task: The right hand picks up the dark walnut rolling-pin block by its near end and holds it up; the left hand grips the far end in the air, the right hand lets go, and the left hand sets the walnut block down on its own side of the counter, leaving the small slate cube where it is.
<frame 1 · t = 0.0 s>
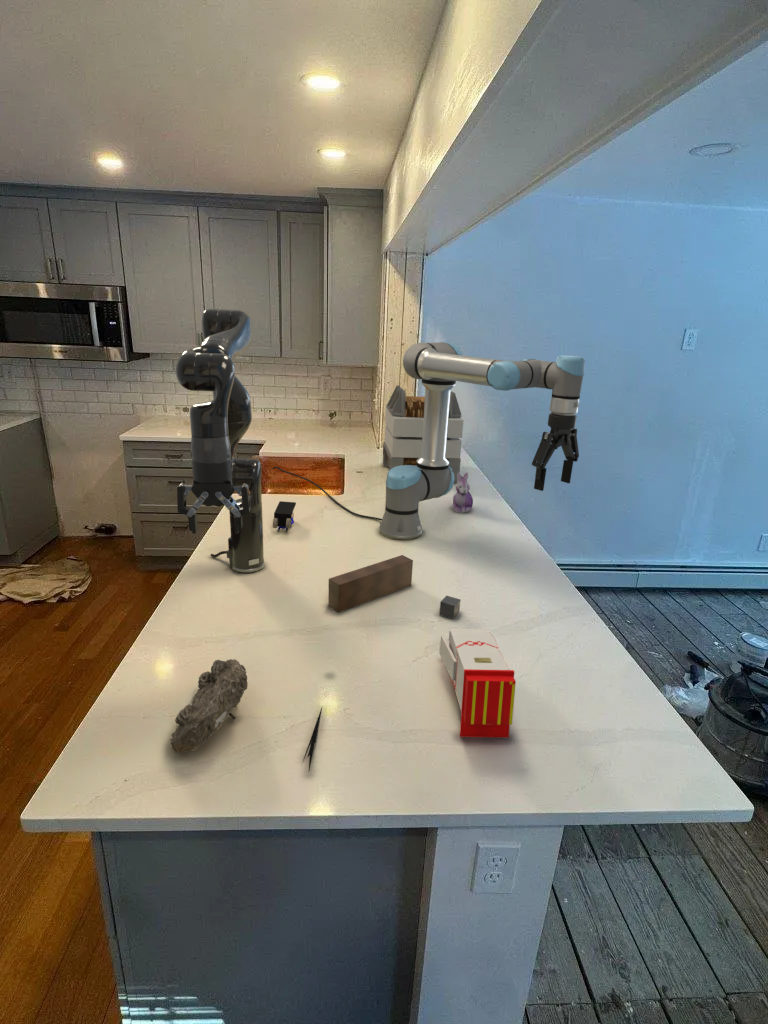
left hand: (216, 532, 118), 29 cm above the counter, fingers open, 8 cm apart
right hand: (552, 485, 166), 28 cm above the counter, fingers open, 13 cm apart
fossil: (215, 716, 108), on the counter
figurine character: (284, 527, 201), on the counter
feather: (319, 719, 109), on the counter
walnut bar: (371, 595, 157), on the counter
toy: (471, 691, 119), on the counter
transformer: (418, 473, 275), on the counter
slate cube: (449, 613, 149), on the counter
figurine: (462, 509, 227), on the counter
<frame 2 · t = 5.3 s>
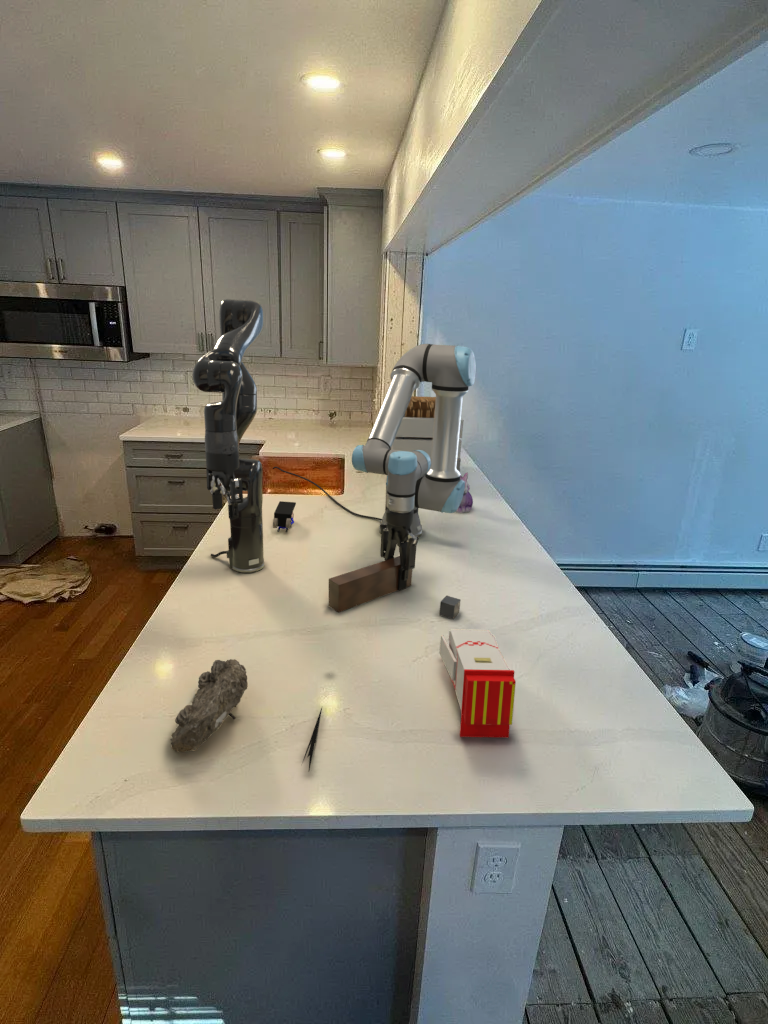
left hand: (225, 513, 138), 26 cm above the counter, fingers open, 8 cm apart
right hand: (395, 585, 162), 0 cm above the counter, fingers closed on walnut bar, 4 cm apart
walnut bar: (371, 595, 157), on the counter, touching right hand
everything else where it was.
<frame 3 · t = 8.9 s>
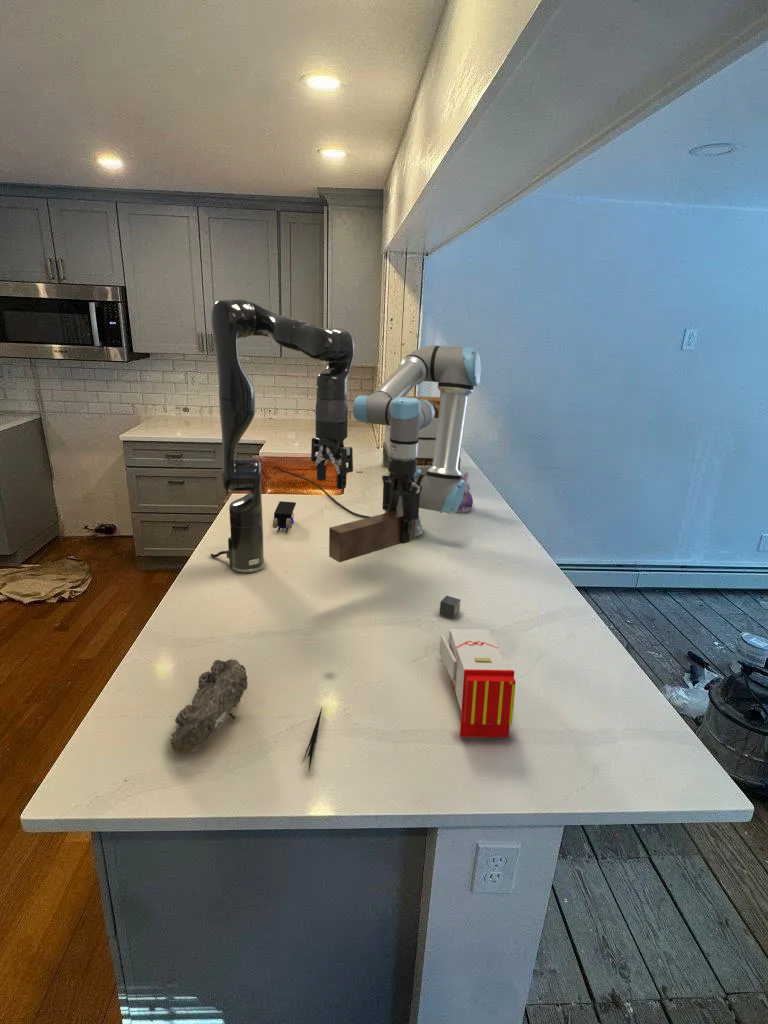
left hand: (331, 484, 138), 34 cm above the counter, fingers open, 8 cm apart
right hand: (398, 539, 157), 15 cm above the counter, fingers closed on walnut bar, 4 cm apart
walnut bar: (373, 547, 152), point 14 cm above the counter, touching right hand
everything else where it was.
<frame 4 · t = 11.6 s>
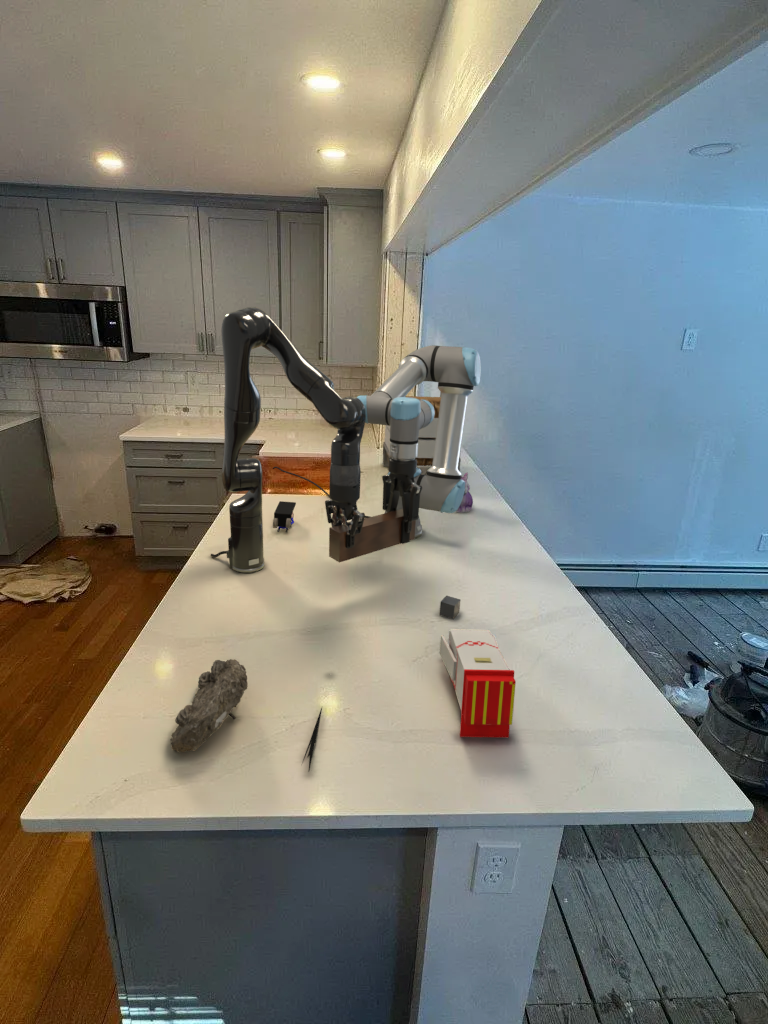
left hand: (343, 544, 144), 18 cm above the counter, fingers closed on walnut bar, 4 cm apart
right hand: (398, 539, 157), 15 cm above the counter, fingers closed on walnut bar, 4 cm apart
walnut bar: (373, 547, 152), point 14 cm above the counter, touching right hand, left hand
everything else where it was.
when the right hand's fingers open (15 cm above the counter, at t = 12.5 s): walnut bar stays where it is, held by the left hand.
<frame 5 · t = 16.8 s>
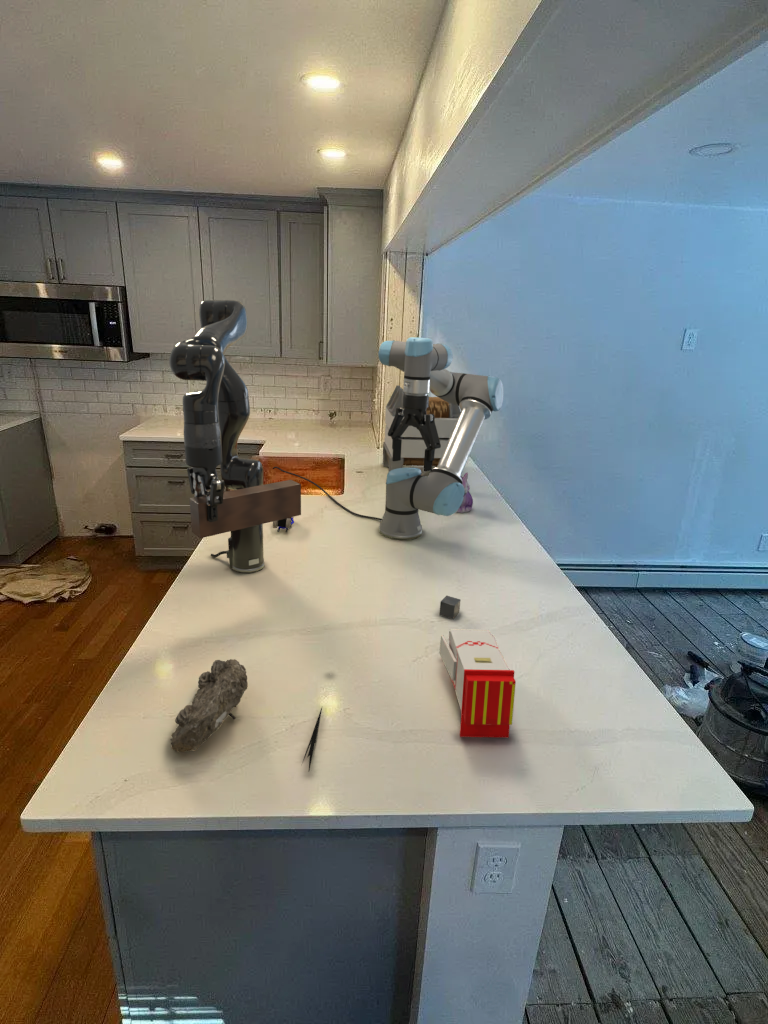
left hand: (207, 517, 126), 29 cm above the counter, fingers closed on walnut bar, 4 cm apart
right hand: (411, 465, 170), 31 cm above the counter, fingers open, 13 cm apart
walnut bar: (249, 523, 134), point 26 cm above the counter, touching left hand
everything else where it was.
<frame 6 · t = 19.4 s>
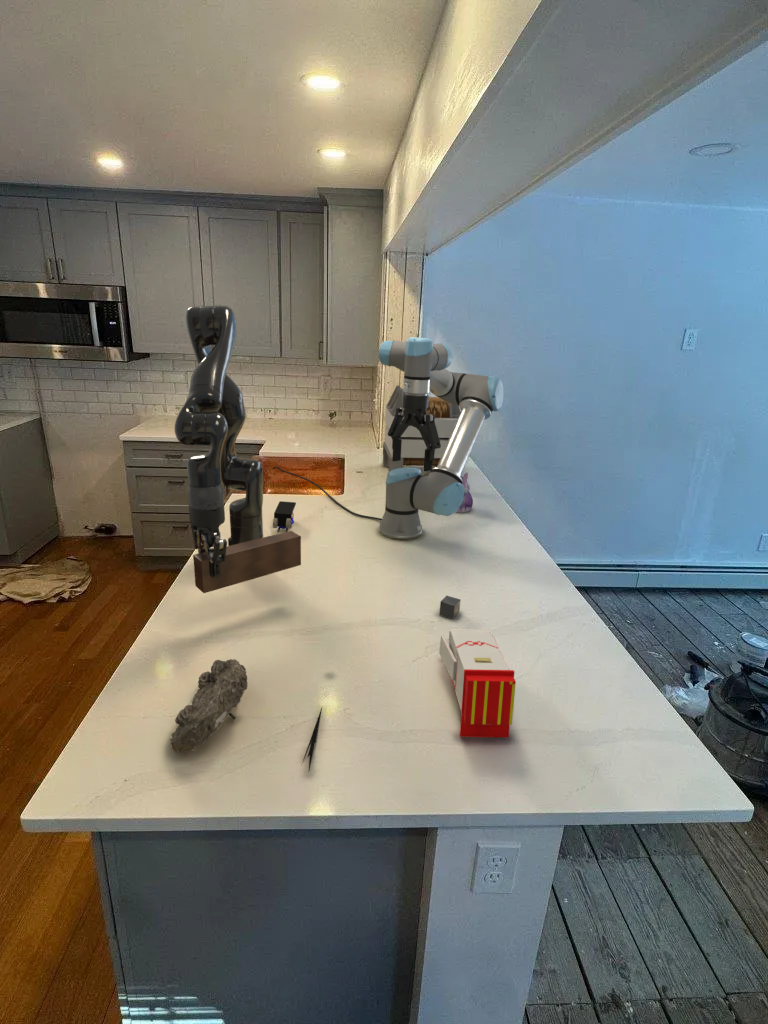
left hand: (210, 572, 131), 16 cm above the counter, fingers closed on walnut bar, 4 cm apart
right hand: (411, 465, 170), 31 cm above the counter, fingers open, 13 cm apart
walnut bar: (250, 575, 138), point 12 cm above the counter, touching left hand
everything else where it was.
when the left hand's fingers open (5 cm above the counter, at t = 21.9 s): walnut bar drops 1 cm, on the counter.
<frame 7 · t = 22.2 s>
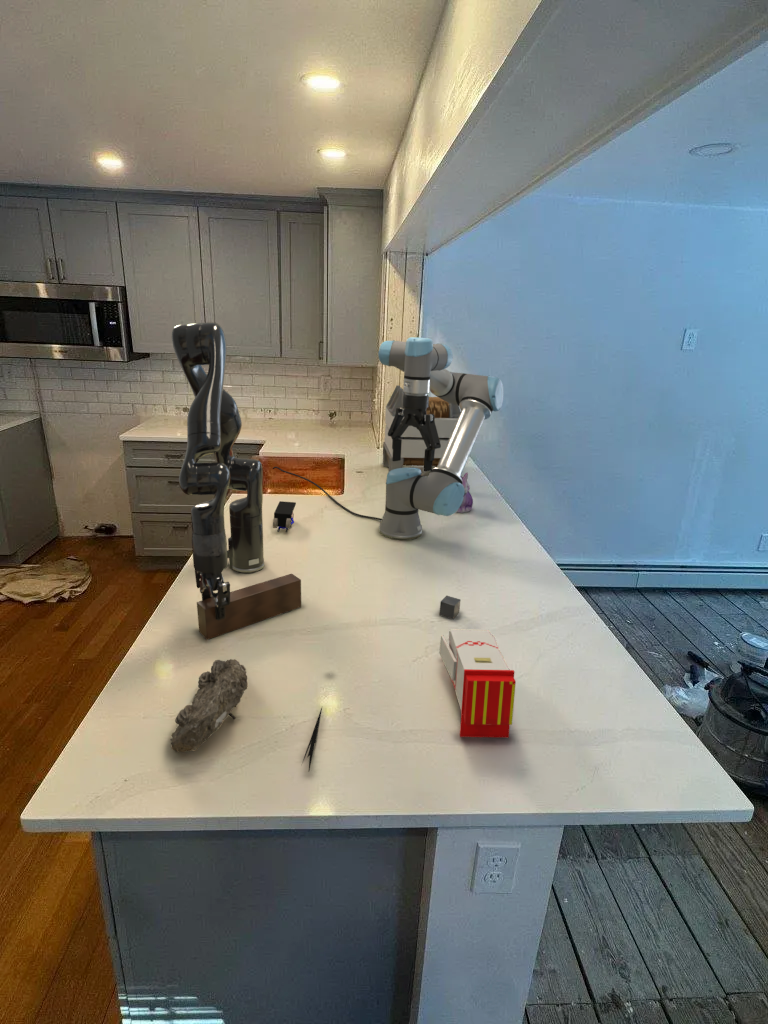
left hand: (214, 612, 134), 5 cm above the counter, fingers open, 6 cm apart
right hand: (411, 465, 170), 31 cm above the counter, fingers open, 13 cm apart
walnut bar: (252, 618, 142), on the counter
everything else where it was.
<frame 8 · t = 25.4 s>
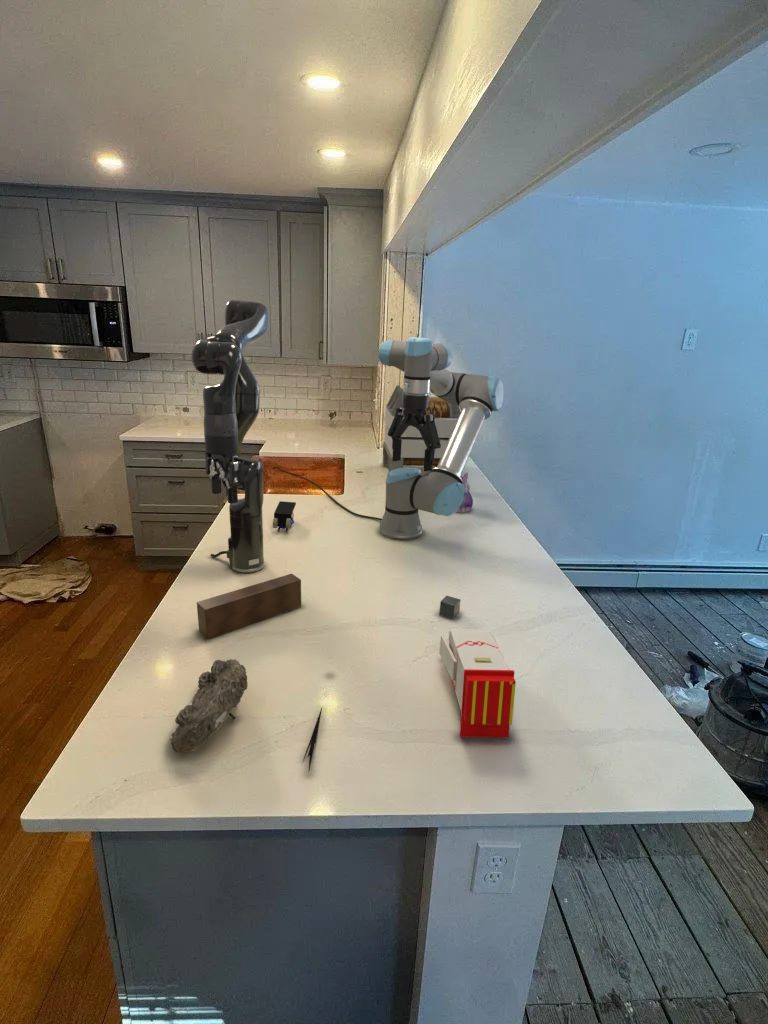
left hand: (224, 498, 136), 30 cm above the counter, fingers open, 8 cm apart
right hand: (411, 465, 170), 31 cm above the counter, fingers open, 13 cm apart
nothing on the counter moved.
at the end: walnut bar inside the target area (0.1 cm from its centre), on the counter; both hands held the walnut bar at the same time; the left hand is holding nothing; the right hand is holding nothing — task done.
